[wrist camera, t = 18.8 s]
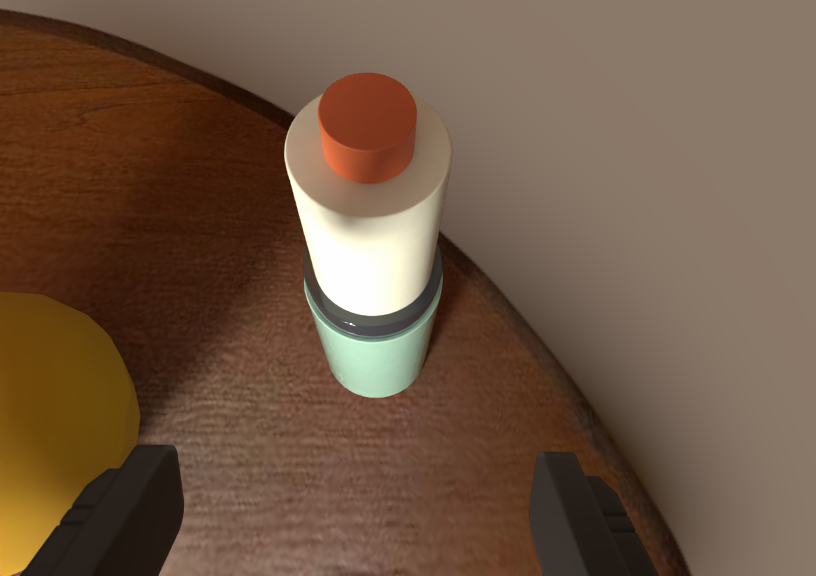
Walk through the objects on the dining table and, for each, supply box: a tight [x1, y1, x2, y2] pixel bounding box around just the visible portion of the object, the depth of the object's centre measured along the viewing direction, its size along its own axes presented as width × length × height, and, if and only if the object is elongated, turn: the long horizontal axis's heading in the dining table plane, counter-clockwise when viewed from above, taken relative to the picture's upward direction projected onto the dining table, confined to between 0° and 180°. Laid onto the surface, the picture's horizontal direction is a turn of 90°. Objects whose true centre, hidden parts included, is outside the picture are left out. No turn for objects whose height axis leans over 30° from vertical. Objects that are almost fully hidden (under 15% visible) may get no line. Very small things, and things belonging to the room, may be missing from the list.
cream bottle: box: [284, 73, 452, 316], centre depth 19 cm, size 5×5×9 cm
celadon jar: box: [303, 241, 443, 397], centre depth 28 cm, size 6×6×12 cm
